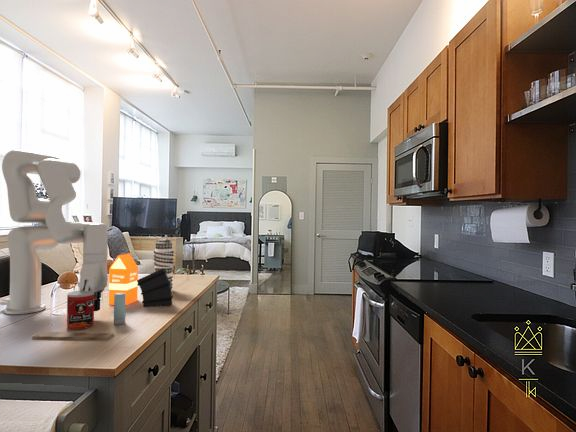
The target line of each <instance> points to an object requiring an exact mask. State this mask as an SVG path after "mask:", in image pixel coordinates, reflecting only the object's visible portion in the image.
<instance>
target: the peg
mask: <svg viewBox="0 0 576 432" xmlns="http://www.w3.org/2000/svg"><path fill="white" fill-rule="evenodd" d="M125 301H126V293H116V294H114V305H113V325H114V326H123V325H125V324H126V305H125Z"/></svg>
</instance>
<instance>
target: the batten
mask: <svg viewBox="0 0 576 432" xmlns="http://www.w3.org/2000/svg"><path fill="white" fill-rule="evenodd" d="M113 337H115V333H114V332H71V331H70V332H68V331H67V332H66V331H65V332H64V331H63V332H62V331H60V332H59V331H41V332H38V333H36V334H34V335H32V340H62V341H63V340H64V341H65V340H67V341H69V340H71V341H78V340H79V341H109V340H110V339H111V338H113Z"/></svg>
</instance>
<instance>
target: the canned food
mask: <svg viewBox="0 0 576 432" xmlns="http://www.w3.org/2000/svg"><path fill="white" fill-rule="evenodd" d="M66 306H67V307H66V326H67V329H68V330H78V331H79V330H84V329H89V328H91V327H93V325H94V322H95V311H94V291H90V290H89V291H85V290H83V291H80V290H76V291H70V292H69V293H67V301H66Z"/></svg>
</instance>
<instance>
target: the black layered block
mask: <svg viewBox="0 0 576 432" xmlns="http://www.w3.org/2000/svg"><path fill="white" fill-rule="evenodd" d="M137 282H138V284H137V285H138V287H139V288H140V290H141V293H140V295H141V296H142V301H141V303H142V307H144V308H145V307H147V308H149V307H150V308H151V307H152V308H153V307H171V306H172V304H173V299H174V296H173V294H172V292H171V287H170V284H171V282H169V279H168V276H167V274H166V270H164V268H162V269H160V270H158V271H156V272H155V271H154V272H152V273H150V274H147V275H145V276H143V277H141V278H138V280H137Z"/></svg>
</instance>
